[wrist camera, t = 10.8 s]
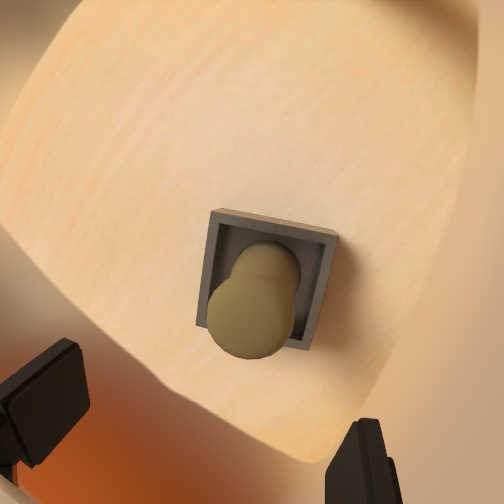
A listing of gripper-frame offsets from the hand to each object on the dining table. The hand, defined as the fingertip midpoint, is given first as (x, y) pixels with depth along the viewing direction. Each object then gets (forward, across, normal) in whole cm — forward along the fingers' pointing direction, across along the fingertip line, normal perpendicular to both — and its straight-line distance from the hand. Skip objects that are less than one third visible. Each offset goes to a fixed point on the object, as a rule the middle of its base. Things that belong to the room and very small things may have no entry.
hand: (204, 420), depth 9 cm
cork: (+19, 0, +1) cm, 19 cm away
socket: (+20, 0, +1) cm, 20 cm away
